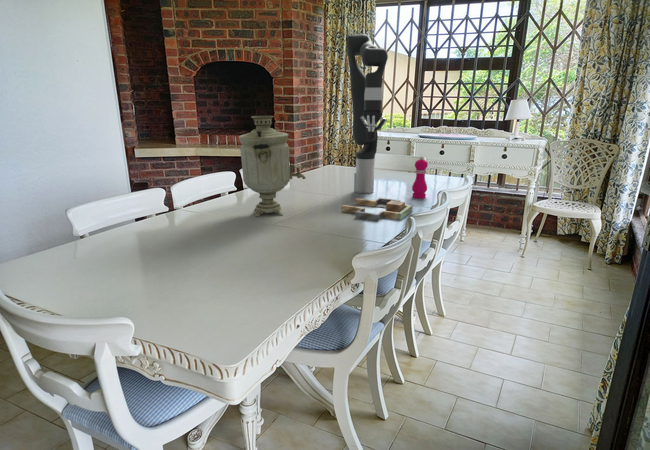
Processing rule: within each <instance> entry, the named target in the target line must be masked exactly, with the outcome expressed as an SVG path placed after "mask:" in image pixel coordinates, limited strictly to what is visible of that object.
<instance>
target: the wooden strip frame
mask: <svg viewBox="0 0 650 450" xmlns="http://www.w3.org/2000/svg"><path fill="white" fill-rule="evenodd" d="M391 200H393V201H400V202H401V200H400V199H395V198H394V199H393V198H387V197H378V198H377V199H375V200H374V199H365V198H357V197H356V198H354V204H355V206H354V205H353V206H352V205H347V204H343V205H341V212H343V213H352V214H355V215H354V216H355V217H354V218H355V219H360V220H368V221H376V222H379V221H381V220H382V219H383V218H385V219H391V220H392V219H393V220H399V221H402V220H403V219H404V218H406V216H408V215H409V214H410V213H412V212H413V204H412V205H411V204H406V203H405V208H404V209H403V210H402V211H400V212H399V213H398V212H391V211H386V210H385V209H386V203H388V202H390V201H391ZM356 205H358V206H356ZM362 206H365V207H362ZM372 206H373V207H374V208H379V207H380V208H381V209H383V210H381V211H379V212H378V213H373V212H367V211H366V207H372ZM380 208H379V209H380Z"/></svg>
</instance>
